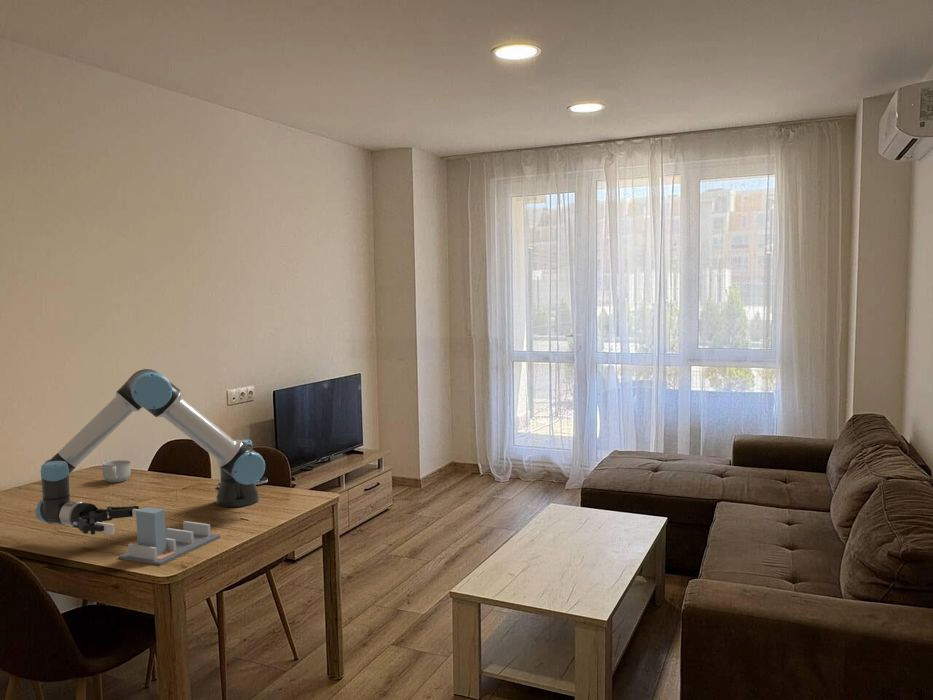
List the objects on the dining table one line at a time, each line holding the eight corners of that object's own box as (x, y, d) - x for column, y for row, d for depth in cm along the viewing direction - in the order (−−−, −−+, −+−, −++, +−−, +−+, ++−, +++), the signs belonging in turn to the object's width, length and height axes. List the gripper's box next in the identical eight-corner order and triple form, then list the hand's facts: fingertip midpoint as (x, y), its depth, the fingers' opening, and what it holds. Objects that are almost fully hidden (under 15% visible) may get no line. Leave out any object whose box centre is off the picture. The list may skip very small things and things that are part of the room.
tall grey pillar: (148, 549, 221) (146, 507, 220) (166, 552, 218) (164, 509, 217) (138, 553, 217) (136, 511, 216) (156, 556, 215) (154, 513, 214)
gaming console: (221, 492, 287) (221, 486, 287) (216, 487, 295) (215, 481, 294) (270, 485, 297) (270, 479, 297) (263, 480, 305) (263, 474, 305)
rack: (180, 531, 239) (180, 519, 239) (220, 537, 233) (219, 524, 233) (118, 558, 216) (118, 544, 216) (160, 565, 210) (159, 550, 210)
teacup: (108, 478, 310) (107, 459, 309) (135, 477, 311) (134, 458, 310) (96, 486, 296) (94, 467, 295) (124, 485, 297) (123, 466, 296)
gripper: (113, 514, 239) (163, 521, 231) (44, 539, 216) (98, 548, 208) (111, 492, 239) (162, 498, 231) (42, 514, 215) (96, 522, 208)
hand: (132, 522), depth 220 cm, fingers open, 13 cm apart
